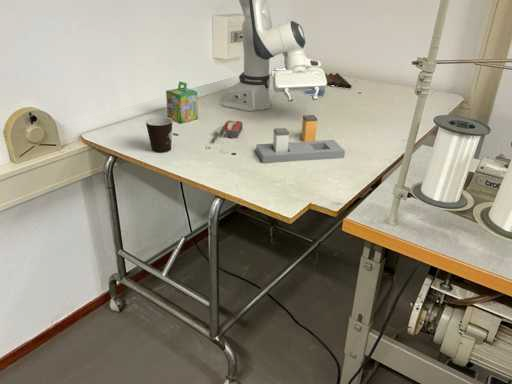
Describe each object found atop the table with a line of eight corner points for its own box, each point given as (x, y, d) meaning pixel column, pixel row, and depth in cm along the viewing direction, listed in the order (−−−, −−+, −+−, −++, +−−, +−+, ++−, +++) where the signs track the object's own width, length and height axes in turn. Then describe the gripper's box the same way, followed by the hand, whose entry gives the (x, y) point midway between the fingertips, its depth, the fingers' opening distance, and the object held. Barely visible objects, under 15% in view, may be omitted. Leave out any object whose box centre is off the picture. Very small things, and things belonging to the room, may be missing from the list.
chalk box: (167, 118, 168) (164, 82, 161) (184, 113, 174) (182, 78, 167) (181, 124, 163) (178, 86, 156) (198, 119, 169) (197, 82, 162)
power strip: (262, 163, 132) (263, 156, 131) (256, 151, 141) (256, 144, 140) (344, 157, 138) (345, 150, 137) (332, 146, 147) (333, 139, 145)
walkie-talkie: (221, 126, 163) (209, 145, 146) (221, 115, 161) (209, 133, 144) (243, 128, 162) (234, 147, 145) (243, 117, 160) (234, 135, 143)
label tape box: (324, 95, 206) (327, 70, 200) (321, 97, 203) (323, 72, 197) (308, 92, 210) (310, 68, 204) (305, 94, 207) (307, 69, 201)
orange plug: (304, 142, 149) (306, 118, 145) (301, 138, 152) (303, 115, 148) (314, 142, 150) (317, 118, 146) (311, 138, 153) (313, 114, 149)
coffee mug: (162, 156, 135) (159, 127, 130) (143, 150, 139) (140, 121, 134) (185, 145, 144) (183, 117, 139) (167, 140, 148) (164, 113, 143)
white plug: (275, 158, 136) (276, 132, 132) (272, 153, 139) (273, 128, 135) (287, 157, 137) (288, 132, 132) (283, 153, 140) (285, 127, 136)
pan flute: (351, 89, 219) (339, 78, 241) (352, 83, 217) (340, 72, 239) (304, 89, 217) (297, 78, 239) (305, 83, 215) (297, 72, 237)
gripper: (271, 63, 151) (277, 97, 148) (324, 61, 155) (331, 94, 151) (268, 73, 157) (274, 105, 154) (319, 71, 161) (326, 102, 157)
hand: (303, 100), depth 152 cm, fingers open, 8 cm apart
